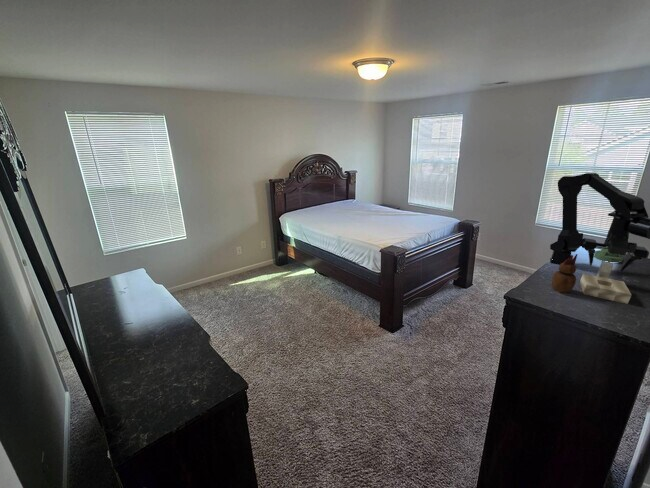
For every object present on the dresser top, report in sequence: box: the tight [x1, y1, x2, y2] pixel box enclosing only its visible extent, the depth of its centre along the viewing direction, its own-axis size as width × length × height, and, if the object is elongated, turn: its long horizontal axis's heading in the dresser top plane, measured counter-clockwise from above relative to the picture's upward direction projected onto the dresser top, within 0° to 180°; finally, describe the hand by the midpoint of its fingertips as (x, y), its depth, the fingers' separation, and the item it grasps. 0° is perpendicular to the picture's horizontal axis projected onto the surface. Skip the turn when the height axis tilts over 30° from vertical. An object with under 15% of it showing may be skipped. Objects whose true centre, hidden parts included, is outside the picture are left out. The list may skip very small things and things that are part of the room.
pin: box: [596, 261, 614, 279], centre depth 119 cm, size 3×3×8 cm
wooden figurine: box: [551, 253, 578, 294], centre depth 111 cm, size 7×6×15 cm
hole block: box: [579, 273, 632, 305], centre depth 112 cm, size 12×12×4 cm
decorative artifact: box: [594, 248, 624, 262], centre depth 143 cm, size 10×7×10 cm
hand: (605, 268), depth 119 cm, fingers open, 9 cm apart
